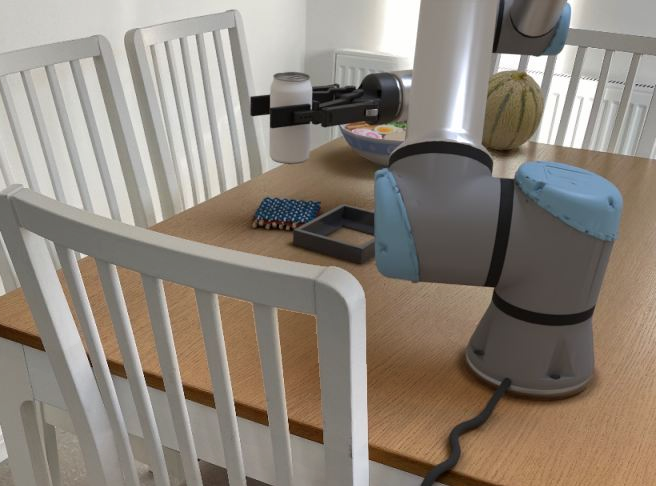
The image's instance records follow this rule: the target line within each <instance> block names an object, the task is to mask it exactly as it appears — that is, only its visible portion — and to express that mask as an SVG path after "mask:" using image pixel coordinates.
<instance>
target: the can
mask: <svg viewBox="0 0 656 486" xmlns="http://www.w3.org/2000/svg"><path fill="white" fill-rule="evenodd" d="M272 77H273V80H272V82H271V85H270V89H269V95H270V108H273V107H282V106H291V105H301V104H310V105H311V109H312V87H313V86H312V82H311V80H310V79H311V76H310V74H308V73H305V72H299V71H281V72H277V73H274V74H273V76H272ZM311 130H312V122H310V124H304V125H296V126H288V127H279V128H271V127H270V126H269V146H268V147H269V148H268V149H269V150H268V151H269V157H270V159H271V160H272V161H273V162H275V163H279V164H284V165H297V164H303V163H305V162H307V161H308V159H309V158H310V152H311V133H312V132H311Z"/></svg>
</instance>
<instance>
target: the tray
mask: <svg viewBox="0 0 656 486" xmlns="http://www.w3.org/2000/svg"><path fill="white" fill-rule="evenodd" d="M341 228H346V229H349V230H353V231H354V230H355V231H358V232H361V233H366V234H368V235H369V234H370V235H373V236H375V232H374V210H369V209H367V208H362V207H358V206H354V205H350V204H347V203H342V204H340V205H338V206H336V207H334V208H331V209H330V210H328V211H326V212H324V213H323V214H321V215H318V216H317V218H315V219H313V220H311V221H309V222H307V223H306V224H304V225H302V226H299V227H297V228H294V229H293V237H292V245H293V246H297V247H300V248H304V249H307V250H311V251H314V252H318V253H321V254H325V255H327V256H331V257H336V258H339V259H341V260H346V261H349V262H353V263H357V264H360V265H362V264H364V263H365V262H367V261H369V260H371V259H373V257H375V237H373V238H372V239H370V240H369V241H367V242H365V243H363V244H362V245H358V244H354V243H351V242H347V241H343V240H340V239H337V238H333V237H329V235H331V234H332V233H334V232H336V231H338V230H340V229H341Z"/></svg>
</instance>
